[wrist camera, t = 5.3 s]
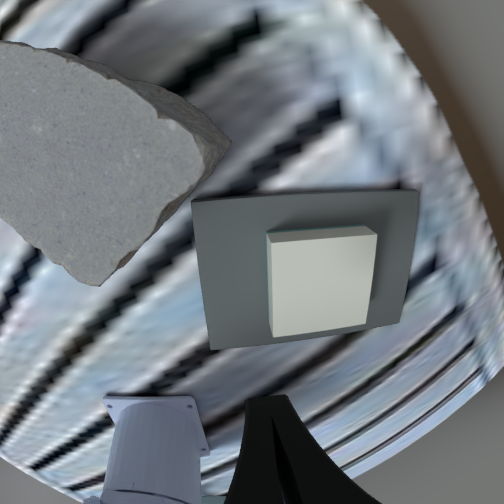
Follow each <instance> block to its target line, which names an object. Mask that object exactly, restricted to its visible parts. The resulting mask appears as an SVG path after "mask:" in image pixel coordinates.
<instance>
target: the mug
mask: <svg viewBox="0 0 504 504" xmlns="http://www.w3.org/2000/svg"><path fill="white" fill-rule="evenodd" d="M225 498H226V496H203V497H201V504H224V501H225Z"/></svg>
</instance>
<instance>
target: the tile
mask: <svg viewBox="0 0 504 504" xmlns="http://www.w3.org/2000/svg"><path fill="white" fill-rule="evenodd" d="M376 243H377V234H376V233H375V232H373V231H372V230H371V229H369V228H368V227H367V226H365V225H349V226H334V227H320V228H307V229H293V230H280V231H268V232H266V251H267V283H268V318H269V324H270V328H271V331H272V335H273V337H281V336H289V335H297V334H304V333H311V332H318V331H325V330H331V329H337V328H343V327H349V326H355V325H361V324H366V318H367V312H368V305H369V299H370V292H371V285H372V278H373V270H374V261H375V253H376Z"/></svg>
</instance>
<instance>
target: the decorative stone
mask: <svg viewBox="0 0 504 504" xmlns="http://www.w3.org/2000/svg"><path fill="white" fill-rule="evenodd" d="M231 145H232V142H231V140H230V139H229V137H228V136H226V135H225V134H224V133H223V132H221V131H220V130H219V129H218V128H217V127H216V126H215V125H214V124H213V123H212V121H211V120H210V119H209V118H208V117H207V115H206V114H204V113H203V112H201V111H200V110H198V109H197V108H196V107H195V106H193V105H192V104H190V103H188V102H187V101H186V100H185V99H184V98H182V97H181V96H179V95H177V94H175V93H172V92H170V91H168V90H166V89H165V88H162V87H160V86H157V85H154V84H151V83H148V82H145V81H139V80H133V81H131V80H128V79H126V78H124V77H123V76H121V75H119V74H118V72H117V71H115V70H113V69H111V68H109V67H107V66H105V65H103V64H100V63H96V62H92V61H88V60H84V59H82V58H80V57H78V56H76V55H73V54H70V53H66V52H62V51H61V50H59V49H57V48H46V49H37V48H34V47H32V46H30V45H28V44H25V43H22V42H11V41H0V218H1V219H3V220H4V221H5V222H7V223H8V224H9V225H11V226H12V227H13V228H14V229H15V230H16V232H17V233H18V234H20V235H21V236H22V238H23V239H24V240H25V241H27V242H29V243H31V244H32V245H33V246H34V247H36V248H39V249H41V251H42V252H43V254H44V255H45V256H46V257H48V258H49V259H50V260H51V261H52V262H53V263H54V264H58V265H62V266H63V267H64V269H65V270H66V271H67V272H68V273H69V274H70V275H71V276H72V277H73V278H75V279H76V280H77V281H78V282H80V283H84V284H87V285H90V286H98V287H100V286H101V285H102V284H103V283H104V282H105V281H106V280H107V279H108V278H110V276H111V275H112V274H113V273H114V272H115V271H117V270H118V269H120V268H122V267H124V266H125V265H126V264H127V263H128V262H129V261H130V260H131V258H132V257H133V256H134V255H135V253H136V252H137V251H138V250H139V248H140V247H141V246H142V245H143V244H144V243H145V242H146V241H147V240H149V238H150V237H151V236H152V235H153V234H155V233H156V232H157V231H158V230H159V229H160V227H161V226H162V225H163V223H164V222H165V221H167V220H168V219H169V218H170V217H171V216H172V215H173V214H174V213H175V212H176V211H177V209H178V208H179V206H180V205H181V204H182V202H183V201H184V200H185V199H186V198H187V197H188V196H189V195H190V194H191V193H192V192H193V191H194V189H195V188H196V186H197V185H198V184H199V183H200V182H202V181H203V180H205V179H206V178H208V177H209V176H210V175H211V174H212V173H213V171H214V169H215V166H216V164H217V163H218V162H219V161H220V160H221V158H223V156H224V154H225V153H226V151H227V150H228V149H229V148H230V147H231Z"/></svg>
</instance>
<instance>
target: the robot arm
mask: <svg viewBox="0 0 504 504" xmlns="http://www.w3.org/2000/svg"><path fill="white" fill-rule="evenodd" d="M102 401H103V403H104V405H105V407H106V409H107V411H108V413H109V414H110V416H111V418H112V420H113V421H114V423H115V425H116V428H115V432H114V437H113V441H112V446H111V450H110V455H109V460H108V465H107V471H106V476H105V481H104V487H103V493H102V495H101V497H100V499H99V497H96V496H91V497H90V498H87V499H85V500H84V501H83V504H201V477H200V457H206V456H209V455H210V450H209V447H208V443H207V440H206V437H205V433H204V430H203V427H202V423H201V420H200V416H199V413H198V409H197V406H196V402H195V399H194V398H193V397H191V396H172V397H123V396H104V397H103V400H102ZM284 503H285V504H382V503H380V502H379V501H377V500H376V499H375V498H373V497H372V496H370V495H369V494H368V493H366V492H365V491H364V490H363V489H362V488H360V487H359V486H358V485H357V484H356V483H355V482H353V481H352V480H351V479H350V478H349V477H348V476H347V475H346V474H345V473H344V472H343V471H342V470H341V469H340V468H339V467H338V466H337V465H336V464H335V463H334V462H333V461H332V459H331V458H330V457H329V456H328V455H327V454H326V453H325V451H324V450H323V449H322V448H321V447H320V445H319V444H318V443H317V442H316V440H315V439H314V438H313V436H312V435H311V434H310V432H309V431H308V429H307V428H306V427H305V425H304V424H303V422H302V421H301V419H300V418H299V416H298V414H297V413H296V411H295V409H294V408H293V406H292V404H291V402H290V400H289V398H288V396H287V395H285V394H283V395H276V396H267V397H259V398H249V399H247V400H245V425H244V433H243V438H242V444H241V449H240V454H239V458H238V461H237V465H236V468H235V472H234V476H233V479H232V482H231V485H230V488H229V491H228V493H227V496H226V498H225V501H224V504H284Z"/></svg>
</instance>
